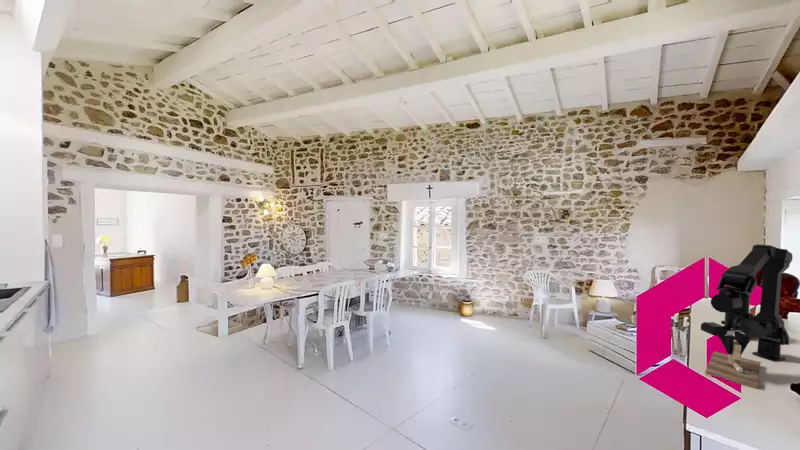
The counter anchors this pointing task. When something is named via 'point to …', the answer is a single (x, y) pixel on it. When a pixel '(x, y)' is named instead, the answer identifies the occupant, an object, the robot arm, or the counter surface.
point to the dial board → (734, 370)
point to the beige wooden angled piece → (735, 356)
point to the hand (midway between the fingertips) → (734, 354)
